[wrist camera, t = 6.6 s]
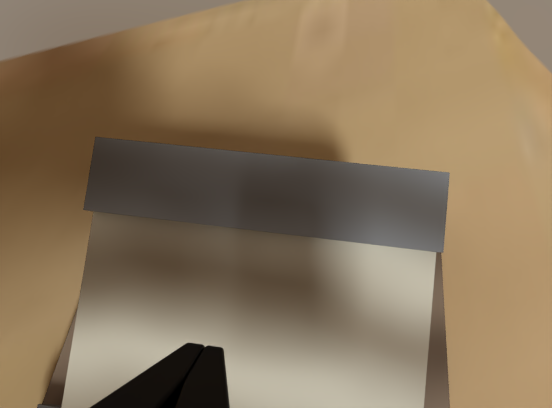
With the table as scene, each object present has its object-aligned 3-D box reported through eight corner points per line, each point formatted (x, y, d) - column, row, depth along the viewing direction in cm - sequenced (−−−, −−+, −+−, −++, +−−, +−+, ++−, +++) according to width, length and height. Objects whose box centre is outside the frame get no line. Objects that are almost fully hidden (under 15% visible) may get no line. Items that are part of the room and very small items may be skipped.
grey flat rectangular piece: (405, 473, 16) (422, 512, 13) (78, 418, 17) (44, 445, 15) (430, 182, 17) (449, 172, 14) (121, 150, 18) (95, 136, 16)
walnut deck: (445, 514, 16) (466, 530, 14) (42, 443, 18) (12, 449, 16) (430, 207, 23) (444, 189, 21) (136, 174, 24) (123, 155, 22)
